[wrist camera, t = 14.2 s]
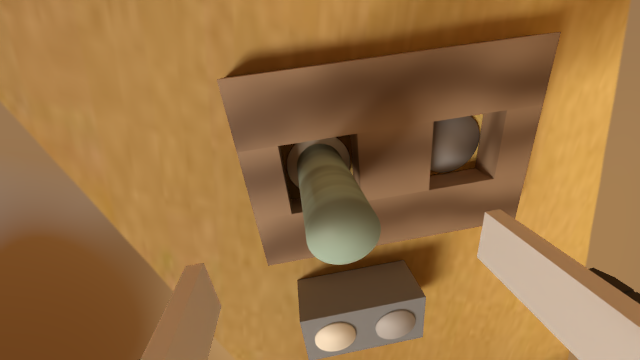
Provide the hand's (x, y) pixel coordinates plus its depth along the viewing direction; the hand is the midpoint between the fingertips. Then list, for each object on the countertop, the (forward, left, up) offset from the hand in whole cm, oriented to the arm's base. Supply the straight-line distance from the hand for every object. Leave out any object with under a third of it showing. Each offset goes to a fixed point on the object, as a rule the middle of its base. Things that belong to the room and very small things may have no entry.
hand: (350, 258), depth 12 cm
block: (-16, -2, -12) cm, 20 cm away
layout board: (0, -6, -12) cm, 13 cm away
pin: (0, 0, -12) cm, 12 cm away
